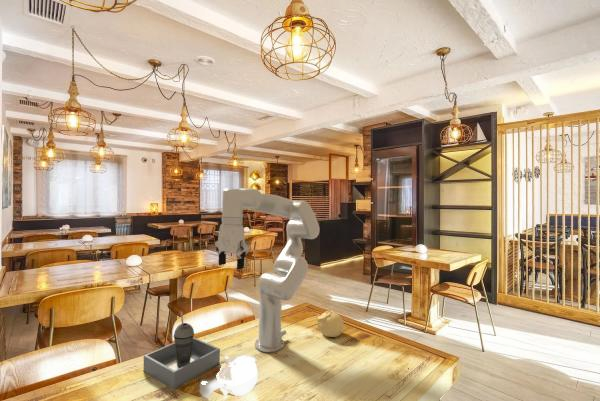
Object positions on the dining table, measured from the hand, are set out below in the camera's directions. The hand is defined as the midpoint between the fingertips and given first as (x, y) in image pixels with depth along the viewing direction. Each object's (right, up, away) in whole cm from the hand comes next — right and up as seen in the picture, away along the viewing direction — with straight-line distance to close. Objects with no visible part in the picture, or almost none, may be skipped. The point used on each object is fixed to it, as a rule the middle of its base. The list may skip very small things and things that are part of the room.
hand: (231, 266), depth 120 cm
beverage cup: (-18, -37, -1) cm, 41 cm away
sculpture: (+40, -39, +31) cm, 64 cm away
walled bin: (-18, -38, -1) cm, 42 cm away
